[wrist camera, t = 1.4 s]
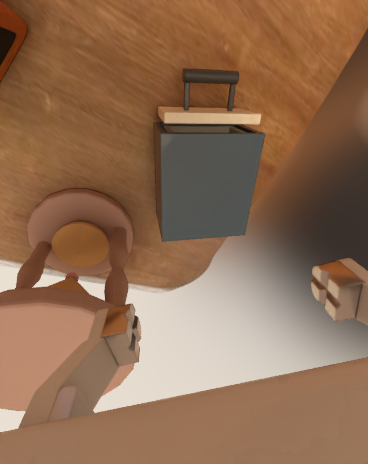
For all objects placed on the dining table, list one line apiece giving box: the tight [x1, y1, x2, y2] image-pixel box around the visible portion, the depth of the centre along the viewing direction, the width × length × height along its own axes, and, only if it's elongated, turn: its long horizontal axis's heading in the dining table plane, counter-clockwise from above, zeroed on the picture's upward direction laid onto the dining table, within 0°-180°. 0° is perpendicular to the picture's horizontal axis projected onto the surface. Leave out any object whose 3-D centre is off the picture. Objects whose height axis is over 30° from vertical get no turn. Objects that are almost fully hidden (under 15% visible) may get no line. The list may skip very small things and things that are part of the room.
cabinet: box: [154, 122, 265, 242], centre depth 38 cm, size 16×14×10 cm
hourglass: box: [0, 189, 134, 411], centre depth 34 cm, size 18×18×25 cm
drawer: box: [158, 68, 261, 133], centre depth 35 cm, size 19×12×8 cm, turn 178°
